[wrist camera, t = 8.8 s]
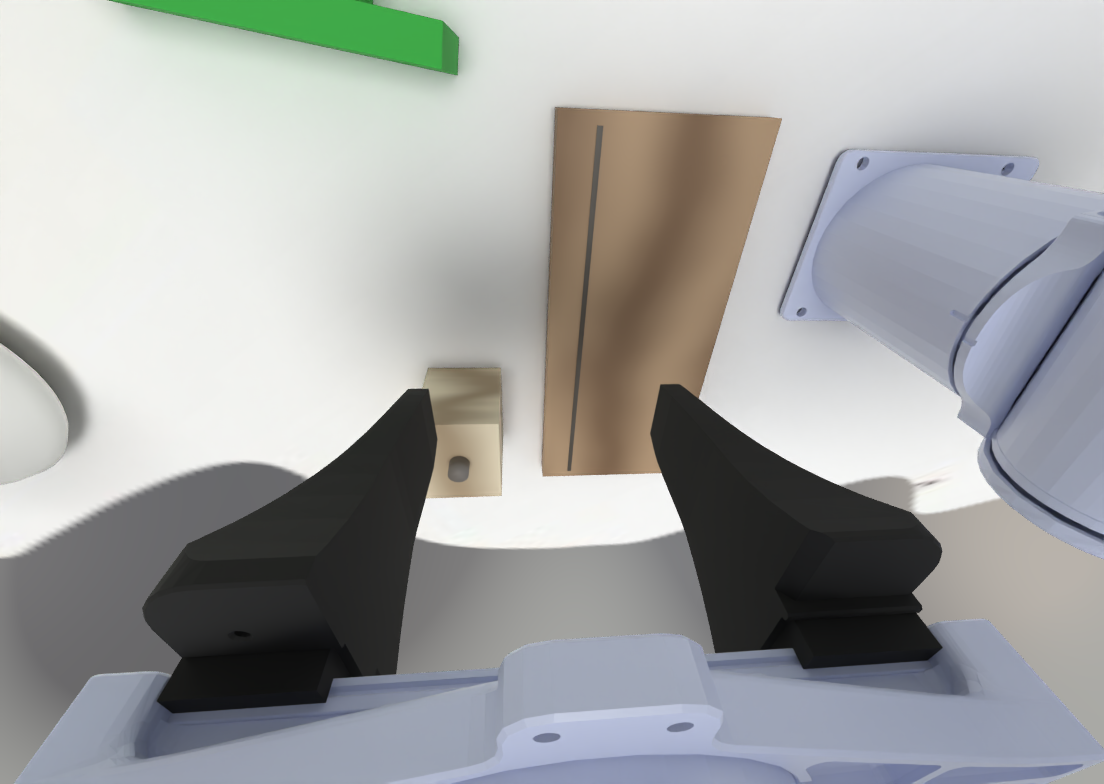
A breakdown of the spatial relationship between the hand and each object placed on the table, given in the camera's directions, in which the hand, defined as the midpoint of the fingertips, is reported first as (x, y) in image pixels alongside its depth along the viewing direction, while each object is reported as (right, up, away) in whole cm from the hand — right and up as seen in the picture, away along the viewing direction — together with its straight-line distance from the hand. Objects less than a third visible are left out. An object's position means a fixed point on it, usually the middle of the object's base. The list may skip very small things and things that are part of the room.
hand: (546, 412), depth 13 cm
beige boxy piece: (-5, 0, +12) cm, 13 cm away
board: (+4, +4, +10) cm, 11 cm away
